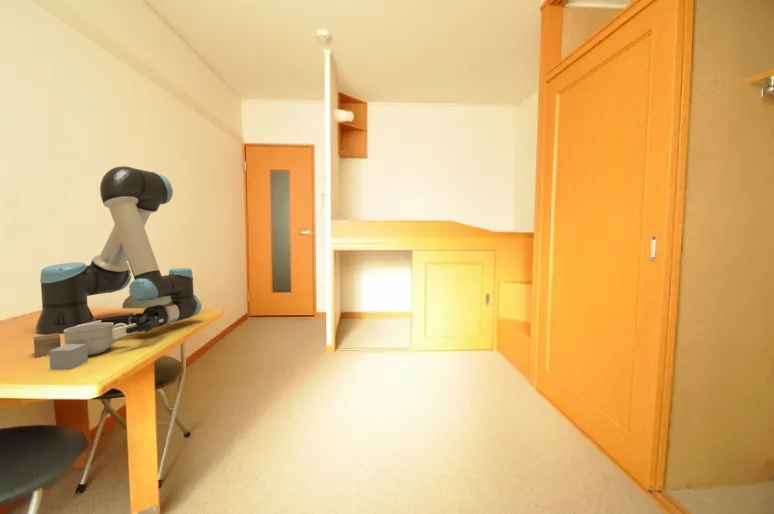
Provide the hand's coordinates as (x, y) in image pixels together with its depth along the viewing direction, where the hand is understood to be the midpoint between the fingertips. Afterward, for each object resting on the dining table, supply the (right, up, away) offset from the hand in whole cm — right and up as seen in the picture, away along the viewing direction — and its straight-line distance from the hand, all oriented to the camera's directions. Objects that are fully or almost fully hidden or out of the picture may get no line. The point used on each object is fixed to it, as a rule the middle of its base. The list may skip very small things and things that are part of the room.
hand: (94, 332), depth 94 cm
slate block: (+2, -7, -9) cm, 12 cm away
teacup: (0, -6, +1) cm, 6 cm away
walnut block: (-13, -6, -1) cm, 14 cm away
